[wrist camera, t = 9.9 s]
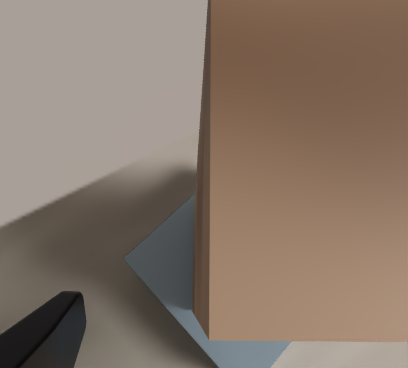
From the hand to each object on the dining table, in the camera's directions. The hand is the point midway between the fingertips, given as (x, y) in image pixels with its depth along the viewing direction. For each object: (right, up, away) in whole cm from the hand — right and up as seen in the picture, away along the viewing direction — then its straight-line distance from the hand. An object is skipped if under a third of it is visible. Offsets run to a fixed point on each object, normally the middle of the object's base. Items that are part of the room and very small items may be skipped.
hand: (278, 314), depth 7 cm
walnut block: (0, 0, +8) cm, 8 cm away
